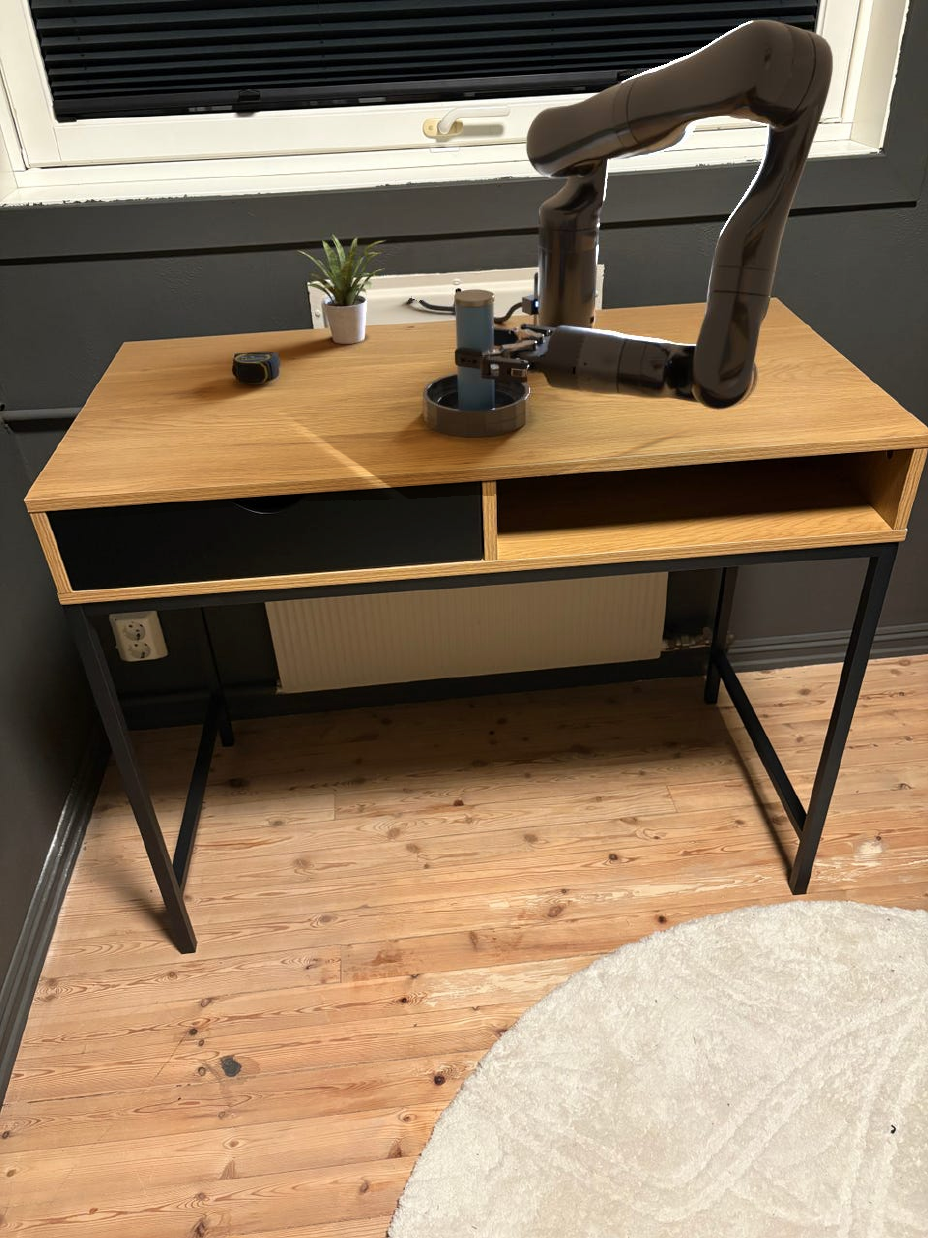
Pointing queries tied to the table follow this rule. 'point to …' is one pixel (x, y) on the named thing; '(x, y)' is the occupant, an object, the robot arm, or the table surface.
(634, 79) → the robot arm
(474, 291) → the canister
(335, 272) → the house plant
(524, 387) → the bowl
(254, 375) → the tape measure
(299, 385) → the table surface
